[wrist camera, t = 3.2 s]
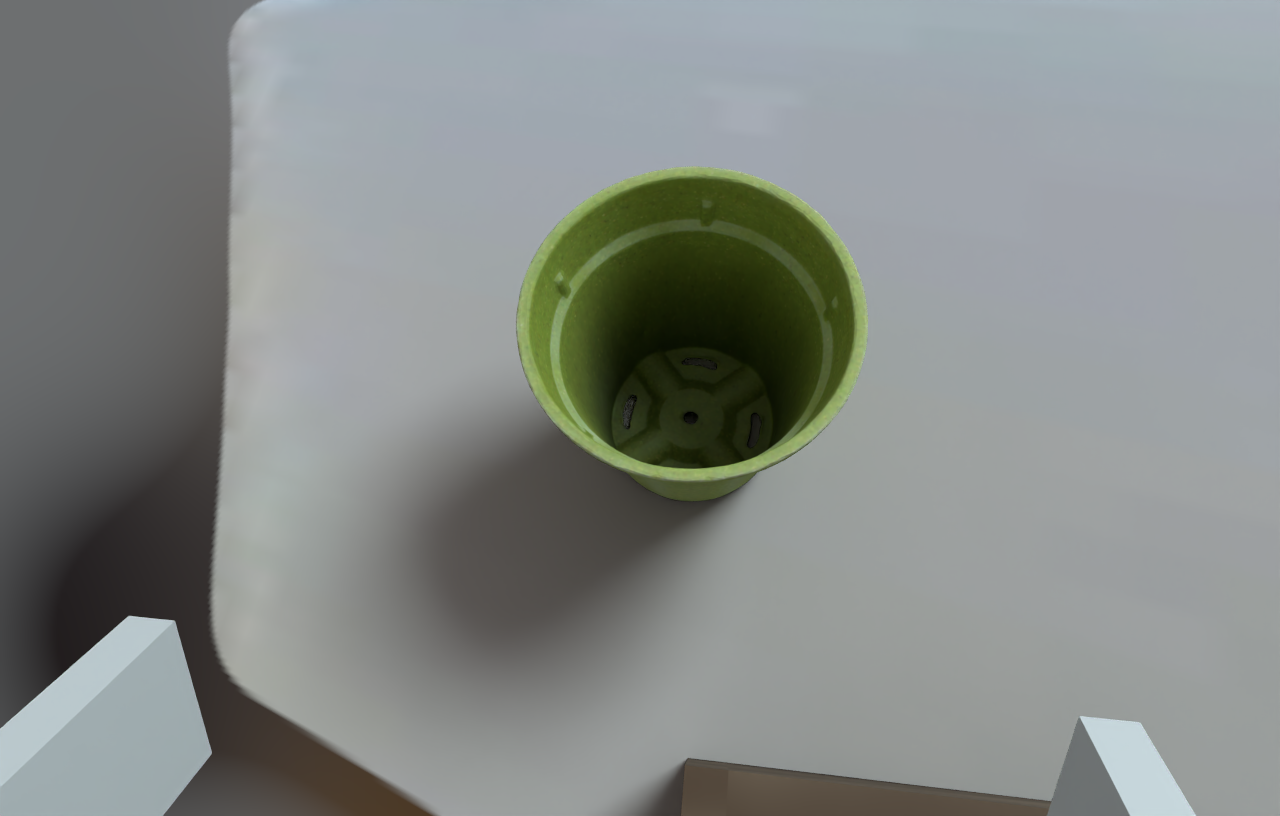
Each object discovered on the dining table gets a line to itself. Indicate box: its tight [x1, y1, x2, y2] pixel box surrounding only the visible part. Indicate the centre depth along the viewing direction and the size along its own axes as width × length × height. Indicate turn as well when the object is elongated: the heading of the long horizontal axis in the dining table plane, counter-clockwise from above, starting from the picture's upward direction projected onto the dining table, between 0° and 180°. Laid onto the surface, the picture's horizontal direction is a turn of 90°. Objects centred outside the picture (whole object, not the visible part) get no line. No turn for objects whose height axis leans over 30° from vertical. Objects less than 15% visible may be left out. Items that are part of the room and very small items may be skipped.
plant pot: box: [516, 166, 868, 501], centre depth 25 cm, size 9×9×9 cm
